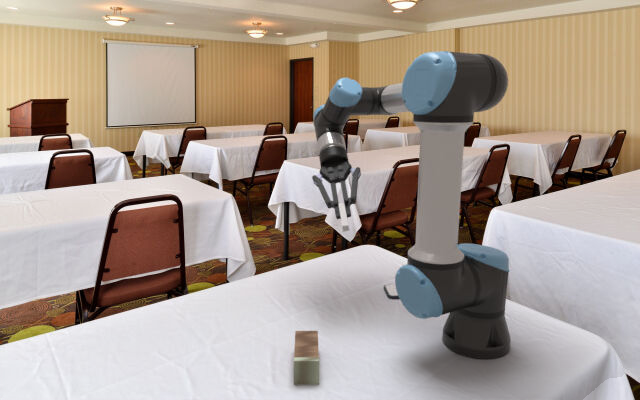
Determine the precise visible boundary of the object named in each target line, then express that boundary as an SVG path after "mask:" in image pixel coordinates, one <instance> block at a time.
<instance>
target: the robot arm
mask: <svg viewBox="0 0 640 400" xmlns="http://www.w3.org/2000/svg"><path fill="white" fill-rule="evenodd" d="M508 86H509V77H508V73H507V70H506V68H505V66H504V65H503V64H502V62H500V60H498V59H497V58H495V57H494V56H491V55H489V54H484V53H469V52H459V51H458V52H457V51H449V50H448V51H446V50H444V51H443V50H441V51H427V52H424V53H422V54H420V55H419V56H417V57H416V58H415V59H414V60H413V61H412V63H411V64H410V65H408V68H407V69H406V71H405V74H404V77H403V81H402V82H400V83H395V84H390V85H384V86H378V87H376V86H375V87H368V86H362V85H361V84H360V83H359V82H357V80H355V79H351V78H349V77H342V78H339V79H338V80H337V81H336V82H335V83H334V85H333V87H332V88H331V89H330V91H329V94H328V97H327V99H326V101H325V103H324V104H321V105H319V107H317V108H315V109H314V112H313V127H314V132H315V137H316V138H315V139H316V142H317V143H316V146H317V151H318V156H319V158H318V159H319V165H320V169H319V173H318V174H316V175H312V176H311V178H312V182H313V184H314V185H315V186H316V187H317V188H318V189H319V191H320V194H321V197H322V198H323V200H324V203H325V205H326V208H328V209H334V214H335V218H336V219H337V220H340V222H341V227H342V232H350V226H349V222H348V218H351V217H352V210H351V205H356V204H357V197H358V186H359V184H358V183H359V179H360V178H361V175H362V173H361V167H359V166H357V167H353V166H352V165H351V164H350V162H349V155H348V152H347V148H346V147H347V146H346V142H345V137H344V131H343V130H344V127H345V125H346V123H347V122H348V121H349V119H350V117H352V116H354V117H356V116H393V115H398V114H400V113H407V112H409V113H412V115H413V118H412V121H413V122H412V123H413V124H414V125H415V127H417V128H418V130H419V132H420V134H419V135H420V136H419V153H418V154H419V155H418V157H419V158H418V159H419V160H418V176H417V177H418V180H417V200H416V201H417V203H416V225H415V227H416V228H415V244H414V245H413V246H411V247H410V248H409V249H408V250H407V261H406V262H407V264H404V265H401V267H399V268H398V270H397V271H396V273H395V279H394V285H396V290H397V294H398V296H399V299H398V300H400V302H401V304H402V305H403V307H404V309H406V311H408V313H409V314H411V315H412V316H413V317H415V318H417V319H423V320H426V319H432V318H439V317H441V316H443V315H447V314H448V316H447V318H446V321H445V324H444V325H443V328H442V334H441V335H442V336H441V337H442V342H443V344H444V345H445V346H446V347H447V348H448V349H450V350H451V351H453V352H454V353H456V354H459V355H461V356H465V357H467V358H468V357H469V358H473V359H483V360H491V359H498V358H500V357H504V356H506V355H507V354H509V352H510V350H511V335H510V332H509V328H508V327H509V326H508V324H507V319H506V316H505V314H506V305H507V304H506V303H507V293H508V291H507V290H508V284H509V283H508V281H509V273H510V269H509V268H510V264H509V263H510V257H509V256H508V255H507V253H506V252H504V251H503V250H500V249H498V248H495V247H492V246H488V245H482V244H476V243H459V244H458V242H459V229H460V227H459V225H460V209H461V197H462V196H461V194H462V180H463V178H462V177H463V163H464V162H463V161H464V150H465V149H464V147H465V132H466V131H467V130H468V129H469V128H470V127H471V126H472V125H473V124H474V114H475V113H481V112H485V111H488V110H491V109H492V108H494V107H496V106H497V105H499V103H500V102H501V101H502V100H503V99H504V97H505V95H506V93H507V90H508ZM350 174H351V177H352V180H351V187H350V197H349V196H348V191H347V186H346V181H347V179H348V177H349V176H350ZM323 180H325V181H326V182H327V183H329V185H330V188H331V189H330V190H331V197H332V200H331V198H330V196H329V194H328V192H327V190H326V188H325V185H324V184H323ZM337 184H340V188H341V193H342V198H343V202H341V203H340V202H339V196H338V191H337Z"/></svg>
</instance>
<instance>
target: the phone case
mask: <svg viewBox="0 0 640 400" xmlns="http://www.w3.org/2000/svg"><path fill="white" fill-rule="evenodd" d="M383 291H384V293H385V294H386V297H387V299H389V300H400V299H399V296H398V294H397V290H396V285H395V284H386V285H384V286H383Z"/></svg>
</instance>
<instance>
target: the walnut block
mask: <svg viewBox="0 0 640 400" xmlns="http://www.w3.org/2000/svg"><path fill="white" fill-rule="evenodd" d="M294 332H295V333H294V348H293V349H294V350H293V351H294V354H293V385H319V384H320V353H319V352H320V351H319V331H318V330H295V331H294Z"/></svg>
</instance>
